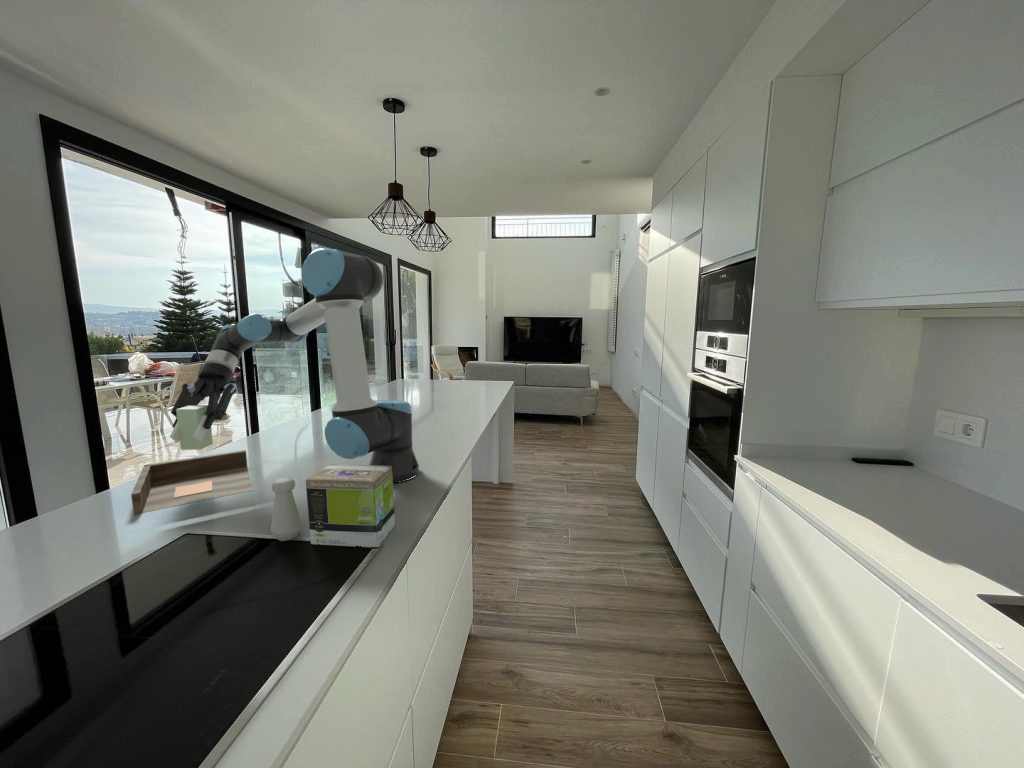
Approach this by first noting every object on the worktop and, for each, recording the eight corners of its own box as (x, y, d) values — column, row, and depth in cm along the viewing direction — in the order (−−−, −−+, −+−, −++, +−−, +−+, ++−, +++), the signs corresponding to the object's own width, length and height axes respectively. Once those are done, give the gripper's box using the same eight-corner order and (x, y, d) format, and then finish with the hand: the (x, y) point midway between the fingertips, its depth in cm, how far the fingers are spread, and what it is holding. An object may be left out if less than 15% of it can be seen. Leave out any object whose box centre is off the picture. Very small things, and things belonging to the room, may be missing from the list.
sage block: (212, 443, 114) (208, 405, 112) (200, 449, 109) (196, 409, 107) (193, 444, 113) (189, 405, 111) (180, 449, 108) (176, 409, 107)
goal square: (212, 490, 110) (212, 490, 110) (173, 498, 105) (173, 497, 105) (212, 481, 116) (212, 480, 116) (175, 488, 112) (175, 487, 111)
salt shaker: (281, 546, 85) (276, 487, 83) (266, 538, 88) (261, 481, 86) (307, 534, 90) (303, 478, 88) (293, 527, 93) (288, 472, 91)
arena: (253, 493, 110) (251, 472, 110) (134, 518, 96) (131, 494, 96) (247, 468, 130) (245, 450, 129) (146, 485, 116) (144, 465, 115)
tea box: (396, 526, 94) (393, 464, 92) (377, 550, 84) (374, 481, 82) (334, 522, 95) (330, 461, 93) (308, 545, 85) (303, 478, 83)
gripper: (256, 376, 124) (229, 445, 110) (193, 376, 122) (158, 446, 109) (245, 361, 118) (215, 431, 104) (178, 360, 116) (139, 432, 103)
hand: (186, 439), depth 107 cm, fingers closed on sage block, 5 cm apart
